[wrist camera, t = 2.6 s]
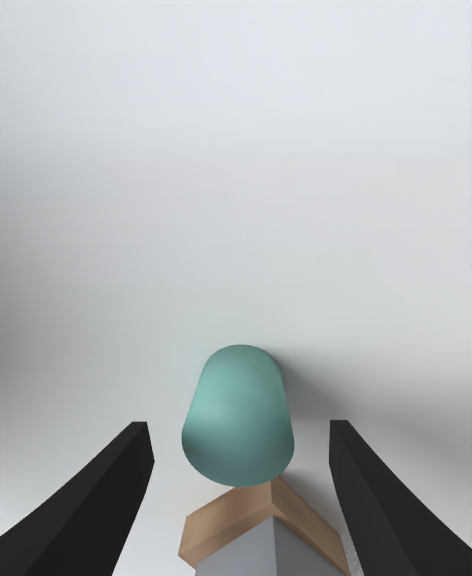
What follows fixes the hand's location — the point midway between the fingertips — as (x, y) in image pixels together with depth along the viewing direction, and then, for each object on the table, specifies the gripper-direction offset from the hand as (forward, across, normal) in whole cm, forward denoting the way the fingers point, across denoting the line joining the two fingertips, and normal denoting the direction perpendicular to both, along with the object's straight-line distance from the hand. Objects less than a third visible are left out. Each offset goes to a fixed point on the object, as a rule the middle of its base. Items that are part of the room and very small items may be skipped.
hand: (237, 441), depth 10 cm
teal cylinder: (+4, 0, 0) cm, 4 cm away
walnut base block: (+4, -1, +11) cm, 12 cm away
